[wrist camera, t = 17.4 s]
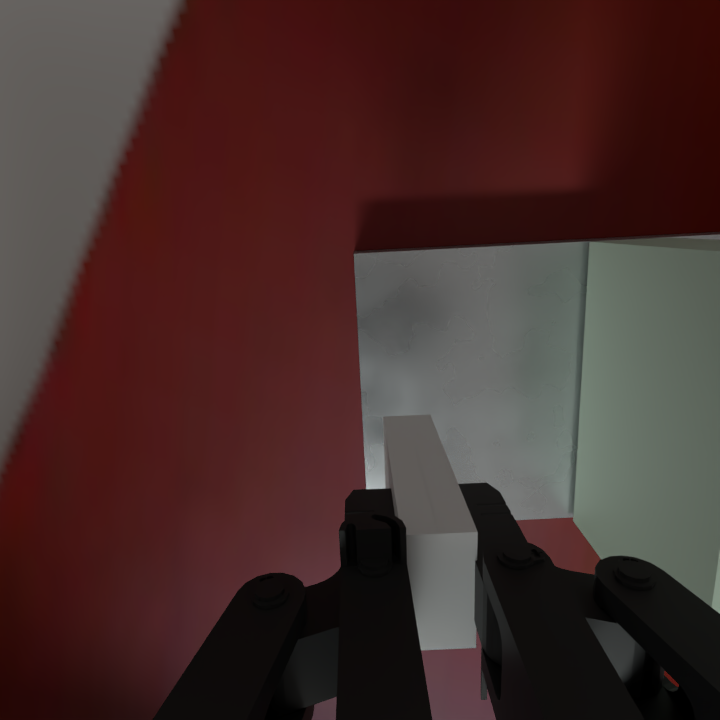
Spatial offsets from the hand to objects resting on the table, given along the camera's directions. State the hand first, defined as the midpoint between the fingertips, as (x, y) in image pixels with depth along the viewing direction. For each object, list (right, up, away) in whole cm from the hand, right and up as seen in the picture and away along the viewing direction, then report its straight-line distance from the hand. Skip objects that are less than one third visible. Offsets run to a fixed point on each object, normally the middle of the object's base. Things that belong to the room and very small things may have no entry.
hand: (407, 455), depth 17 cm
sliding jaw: (+9, +2, +5) cm, 10 cm away
